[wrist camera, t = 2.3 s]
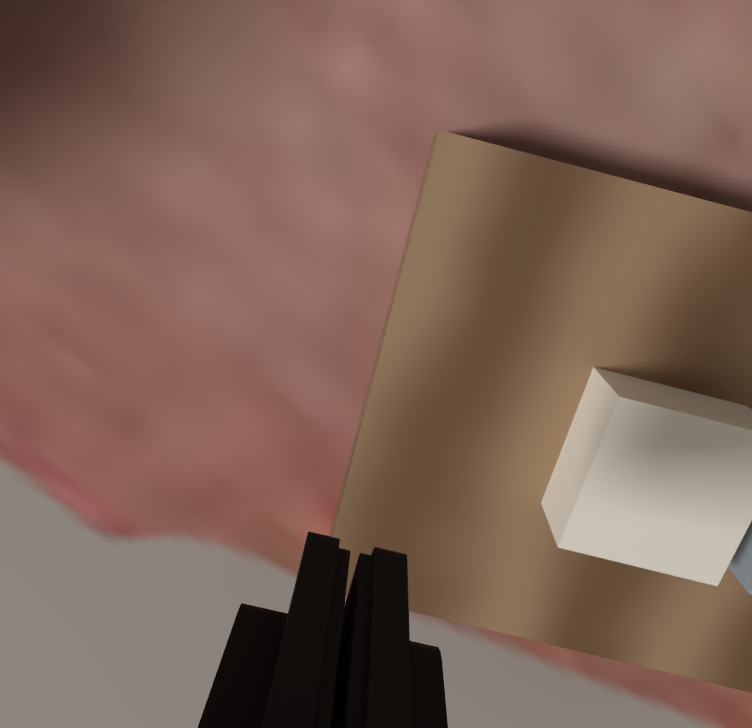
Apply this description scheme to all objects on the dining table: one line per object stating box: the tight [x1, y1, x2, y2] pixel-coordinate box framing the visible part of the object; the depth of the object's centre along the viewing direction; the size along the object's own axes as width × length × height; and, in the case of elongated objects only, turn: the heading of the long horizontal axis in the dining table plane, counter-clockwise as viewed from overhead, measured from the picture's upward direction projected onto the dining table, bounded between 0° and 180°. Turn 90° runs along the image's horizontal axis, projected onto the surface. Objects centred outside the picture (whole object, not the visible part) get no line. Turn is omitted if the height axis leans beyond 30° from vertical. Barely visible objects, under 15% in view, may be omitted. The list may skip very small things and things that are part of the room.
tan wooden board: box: [330, 130, 752, 693], centre depth 22 cm, size 20×16×3 cm
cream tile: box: [541, 367, 752, 586], centre depth 19 cm, size 5×5×2 cm
